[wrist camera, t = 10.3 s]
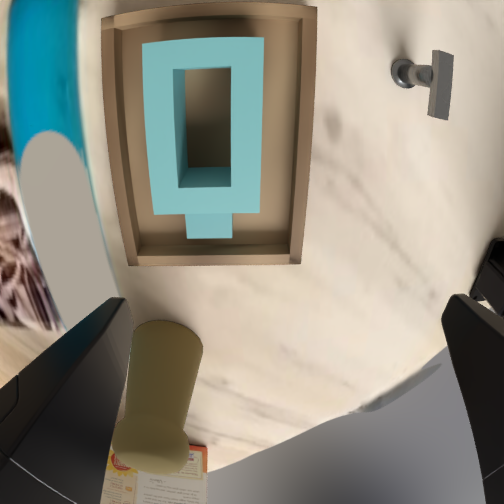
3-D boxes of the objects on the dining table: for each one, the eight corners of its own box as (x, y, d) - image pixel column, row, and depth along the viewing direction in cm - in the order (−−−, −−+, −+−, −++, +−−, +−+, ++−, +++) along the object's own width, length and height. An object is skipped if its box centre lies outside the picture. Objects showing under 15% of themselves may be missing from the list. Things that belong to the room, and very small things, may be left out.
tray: (309, 13, 13) (317, 6, 11) (295, 248, 20) (300, 264, 19) (114, 22, 12) (101, 18, 11) (136, 250, 20) (128, 265, 18)
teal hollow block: (255, 221, 19) (258, 249, 16) (170, 222, 18) (159, 250, 16) (259, 44, 13) (263, 37, 11) (159, 48, 13) (142, 43, 10)
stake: (418, 55, 14) (460, 57, 10) (414, 108, 16) (454, 122, 12) (392, 49, 14) (431, 47, 10) (388, 103, 16) (426, 115, 12)
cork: (123, 320, 23) (85, 444, 14) (197, 319, 23) (184, 456, 14) (142, 367, 26) (121, 476, 17) (207, 368, 27) (202, 484, 17)
